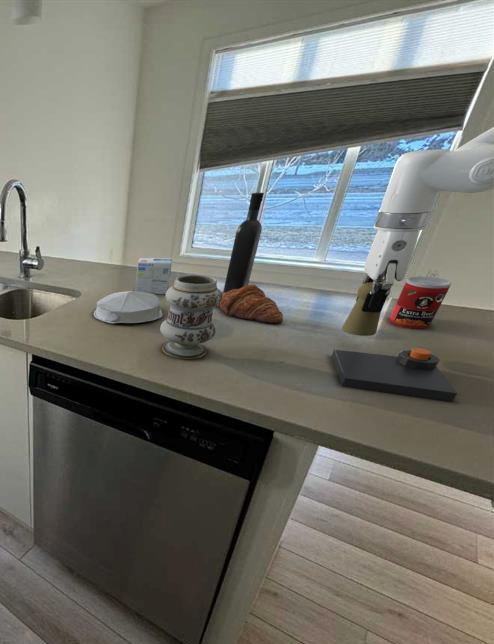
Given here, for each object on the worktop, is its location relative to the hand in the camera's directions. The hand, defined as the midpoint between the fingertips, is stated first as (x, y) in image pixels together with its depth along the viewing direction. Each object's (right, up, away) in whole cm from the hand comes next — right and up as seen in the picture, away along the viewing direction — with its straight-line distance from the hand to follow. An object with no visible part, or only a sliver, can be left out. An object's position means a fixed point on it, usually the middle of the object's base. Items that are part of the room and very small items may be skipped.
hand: (367, 306), depth 90 cm
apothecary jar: (-36, -9, +11) cm, 39 cm away
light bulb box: (-27, +15, +51) cm, 59 cm away
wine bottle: (-4, +12, +41) cm, 43 cm away
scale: (-3, -16, -7) cm, 18 cm away
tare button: (+3, -12, -7) cm, 14 cm away
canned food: (+23, -2, +13) cm, 27 cm away
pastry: (-10, +3, +27) cm, 29 cm away
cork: (+1, -5, +3) cm, 6 cm away
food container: (-42, +4, +34) cm, 54 cm away
